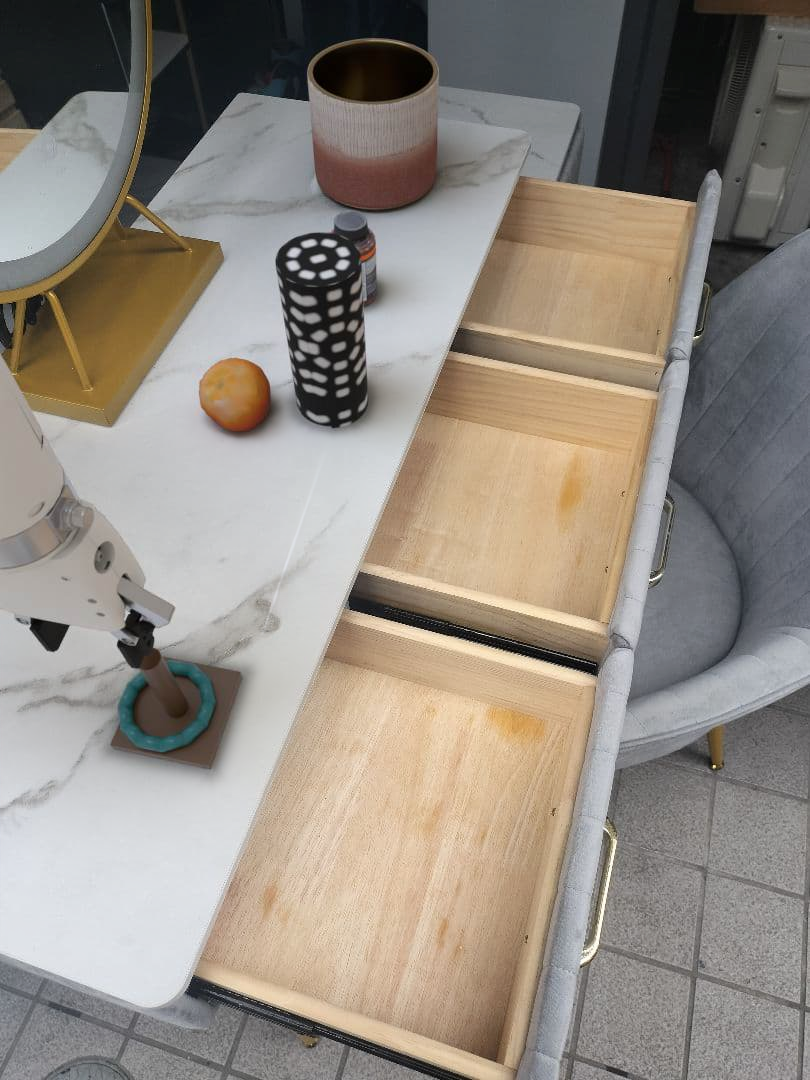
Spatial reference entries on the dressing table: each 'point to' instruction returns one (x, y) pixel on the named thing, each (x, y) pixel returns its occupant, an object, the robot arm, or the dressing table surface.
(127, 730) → the bangle
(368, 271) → the supplement bottle
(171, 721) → the jewel stand
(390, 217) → the dressing table surface
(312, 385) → the spotted tube
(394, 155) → the planter
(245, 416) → the fruit
